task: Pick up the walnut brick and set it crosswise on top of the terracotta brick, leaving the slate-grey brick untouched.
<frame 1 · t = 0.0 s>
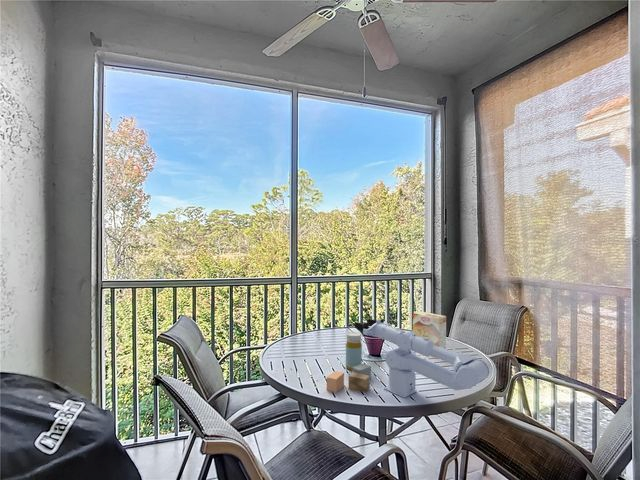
hand: (361, 323, 143), 22 cm above the table, tool horizontal, fingers open, 7 cm apart
bottle: (353, 368, 150), on the table
slate brick: (361, 378, 139), on the table
coffeecake box: (428, 352, 171), on the table
terracotta brick: (335, 387, 130), on the table
walnut brick: (358, 388, 130), on the table
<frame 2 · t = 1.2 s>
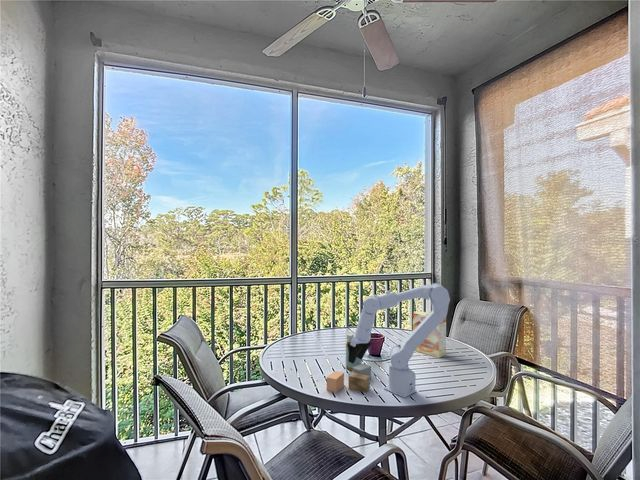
hand: (355, 360, 132), 10 cm above the table, tool pointing down, fingers open, 7 cm apart
nothing on the table moved.
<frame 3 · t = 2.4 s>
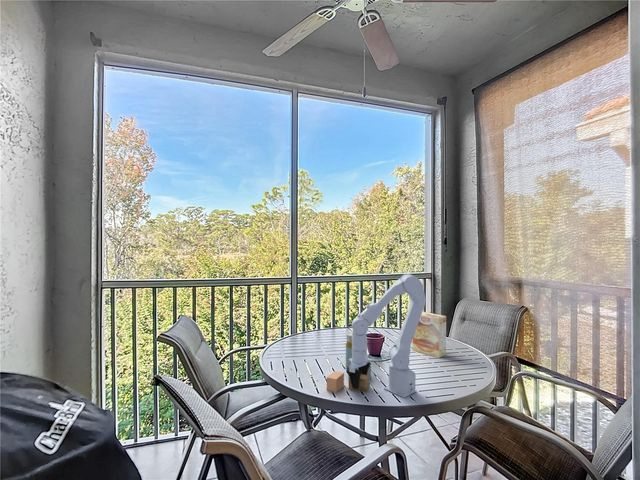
hand: (358, 384, 130), 1 cm above the table, tool pointing down, fingers open, 7 cm apart
slate brick: (361, 378, 139), on the table, touching gripper
everything else where it was.
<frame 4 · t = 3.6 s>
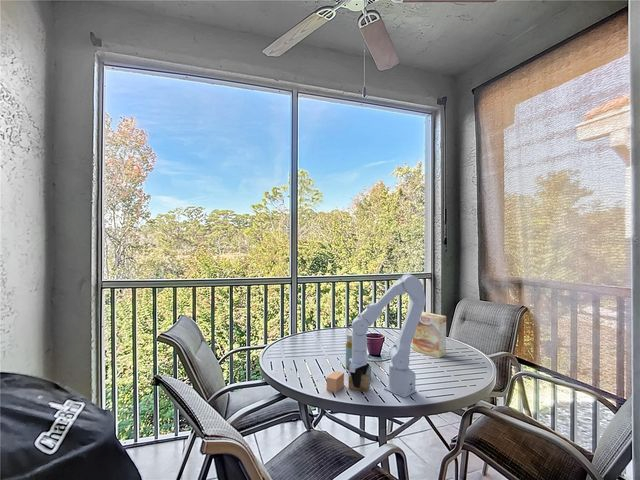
hand: (358, 384, 130), 1 cm above the table, tool pointing down, fingers closed on walnut brick, 4 cm apart
slate brick: (361, 378, 139), on the table
walnut brick: (358, 388, 130), on the table, touching gripper
everything else where it was.
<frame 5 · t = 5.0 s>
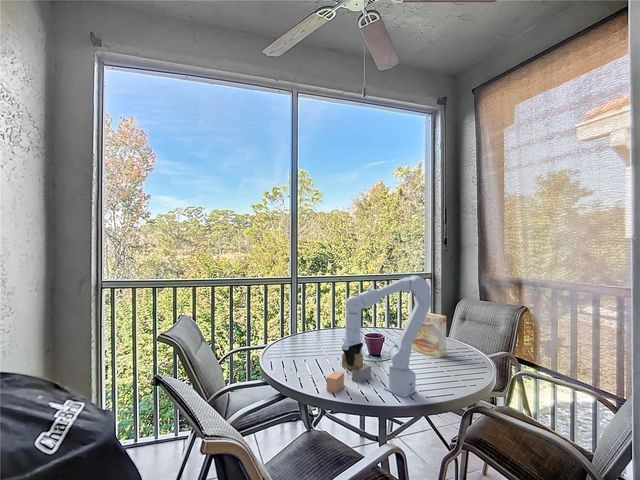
hand: (352, 363, 130), 10 cm above the table, tool pointing down, fingers closed on walnut brick, 4 cm apart
walnut brick: (352, 367, 130), point 8 cm above the table, touching gripper
everything else where it was.
when the fingers open (7 cm above the table, at t = 6.6 s): walnut brick drops 1 cm, resting on terracotta brick.
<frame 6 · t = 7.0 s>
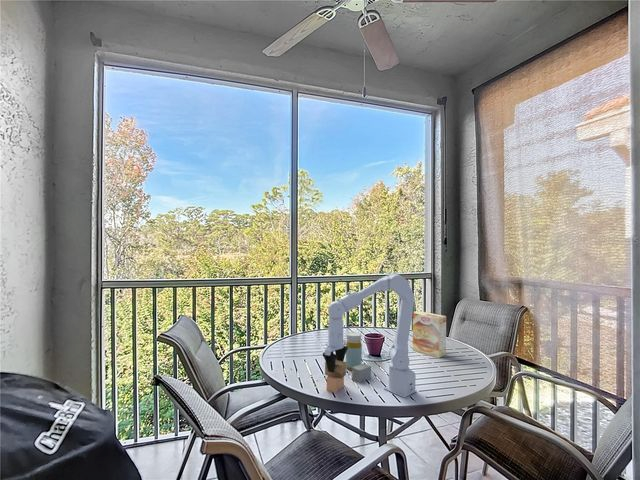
hand: (335, 368, 130), 7 cm above the table, tool pointing down, fingers open, 7 cm apart
terracotta brick: (335, 387, 130), on the table, touching walnut brick
walnut brick: (335, 374, 130), point 5 cm above the table, touching terracotta brick
everything else where it was.
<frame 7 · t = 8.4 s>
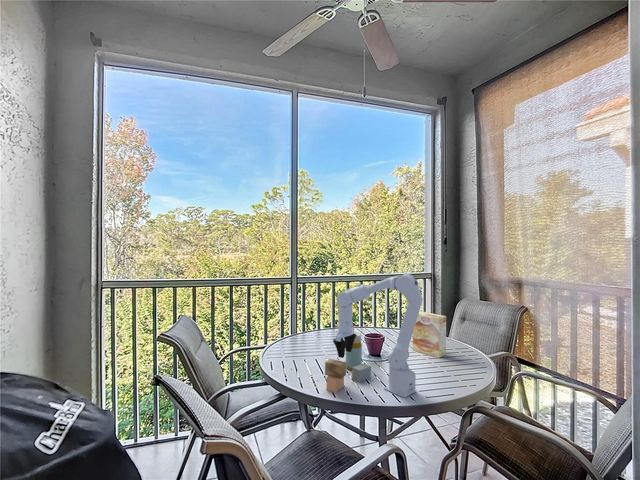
hand: (345, 354, 137), 10 cm above the table, tool pointing down, fingers open, 7 cm apart
nothing on the table moved.
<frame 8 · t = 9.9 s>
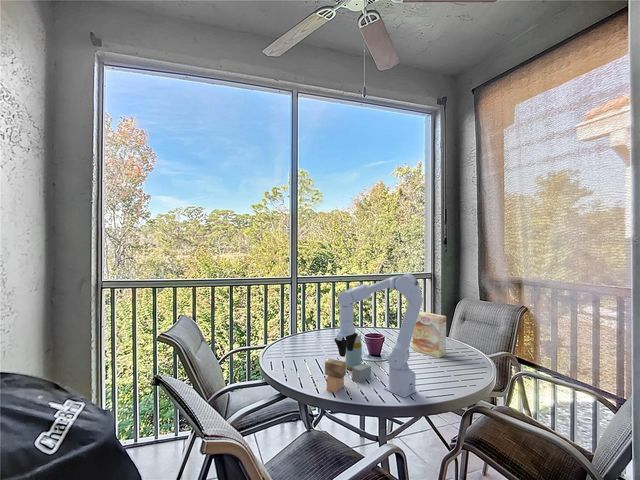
hand: (346, 353, 138), 10 cm above the table, tool pointing down, fingers open, 7 cm apart
nothing on the table moved.
at the end: walnut brick 0.1 cm off-centre on the terracotta brick, point 5.0 cm above the terracotta brick's base; slate brick moved 0.2 cm from its start; terracotta brick moved 0.1 cm from its start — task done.
